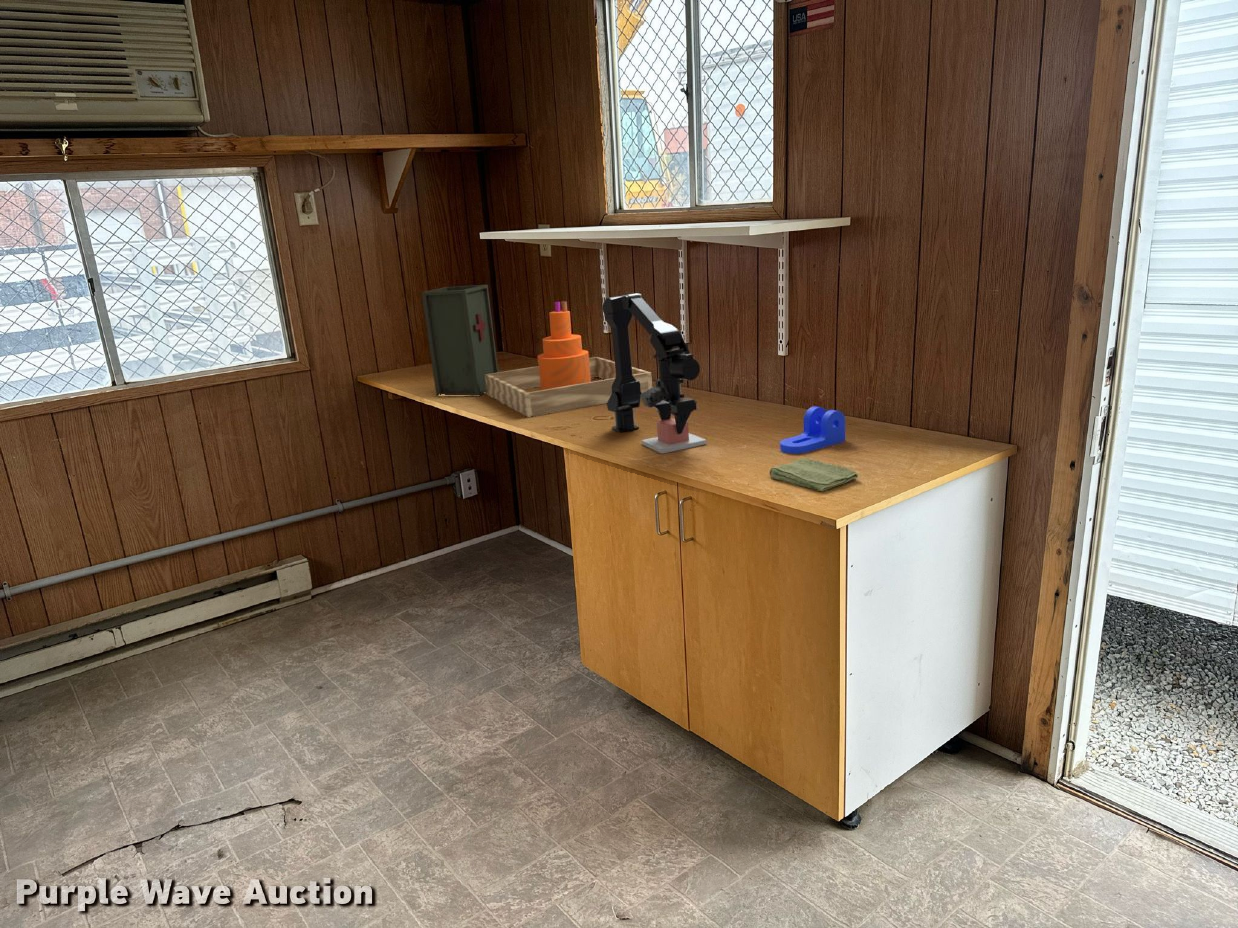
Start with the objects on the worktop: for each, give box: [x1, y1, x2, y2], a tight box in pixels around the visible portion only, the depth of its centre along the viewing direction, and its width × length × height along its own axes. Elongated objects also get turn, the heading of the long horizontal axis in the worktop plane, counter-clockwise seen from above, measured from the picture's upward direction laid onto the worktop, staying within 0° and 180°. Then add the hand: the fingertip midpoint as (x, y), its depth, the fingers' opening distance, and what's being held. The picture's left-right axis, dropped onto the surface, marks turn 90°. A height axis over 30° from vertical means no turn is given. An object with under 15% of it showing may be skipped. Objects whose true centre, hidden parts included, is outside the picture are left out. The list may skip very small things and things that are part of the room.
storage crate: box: [485, 356, 653, 418], centre depth 308 cm, size 47×47×8 cm
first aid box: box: [421, 284, 499, 396], centre depth 325 cm, size 18×18×40 cm
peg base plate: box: [641, 432, 707, 455], centre depth 233 cm, size 12×14×5 cm
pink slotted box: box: [656, 417, 690, 444], centre depth 233 cm, size 6×6×6 cm
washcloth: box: [768, 458, 859, 493], centre depth 196 cm, size 13×18×3 cm
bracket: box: [779, 405, 846, 455], centre depth 221 cm, size 18×8×9 cm, turn 123°
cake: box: [537, 301, 592, 390], centre depth 304 cm, size 20×19×35 cm
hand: (672, 431), depth 233 cm, fingers open, 7 cm apart
